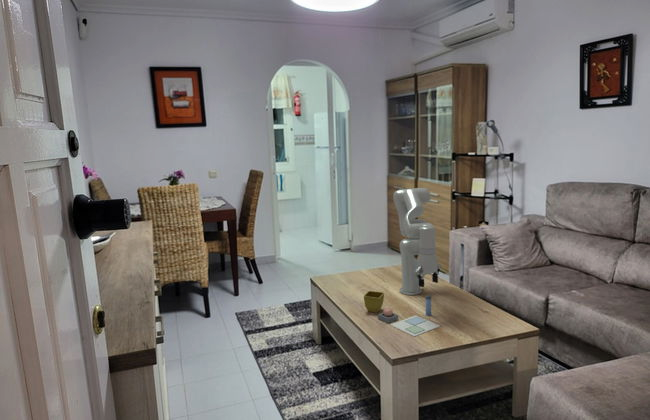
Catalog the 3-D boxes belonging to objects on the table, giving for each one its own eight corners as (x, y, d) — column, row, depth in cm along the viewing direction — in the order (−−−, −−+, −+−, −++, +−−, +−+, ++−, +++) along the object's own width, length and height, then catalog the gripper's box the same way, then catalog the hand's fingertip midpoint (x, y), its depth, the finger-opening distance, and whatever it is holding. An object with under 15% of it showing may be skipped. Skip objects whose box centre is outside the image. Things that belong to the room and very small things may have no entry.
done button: (388, 312, 221) (388, 307, 221) (394, 314, 218) (394, 309, 217) (381, 314, 219) (381, 309, 218) (387, 317, 215) (387, 312, 215)
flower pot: (385, 308, 233) (384, 292, 231) (379, 314, 225) (379, 298, 223) (369, 306, 236) (368, 290, 235) (363, 312, 228) (363, 296, 227)
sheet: (415, 316, 221) (415, 315, 221) (440, 326, 208) (440, 325, 207) (390, 325, 212) (390, 324, 211) (414, 336, 198) (414, 335, 198)
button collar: (388, 315, 223) (388, 310, 223) (398, 319, 218) (398, 314, 217) (378, 318, 220) (378, 314, 219) (387, 323, 214) (387, 318, 213)
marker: (428, 313, 224) (428, 294, 222) (432, 314, 221) (432, 296, 219) (424, 314, 222) (423, 295, 220) (428, 316, 219) (428, 297, 218)
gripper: (434, 246, 224) (434, 279, 226) (409, 252, 214) (410, 286, 217) (445, 249, 218) (446, 282, 220) (420, 255, 208) (421, 290, 211)
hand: (428, 284), depth 218 cm, fingers open, 9 cm apart
